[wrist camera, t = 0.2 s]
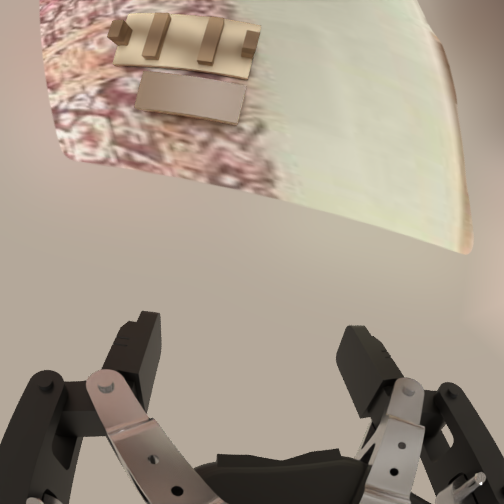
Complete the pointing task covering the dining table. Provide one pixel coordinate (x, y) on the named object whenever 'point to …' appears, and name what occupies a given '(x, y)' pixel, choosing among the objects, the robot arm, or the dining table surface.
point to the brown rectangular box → (190, 97)
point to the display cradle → (185, 43)
